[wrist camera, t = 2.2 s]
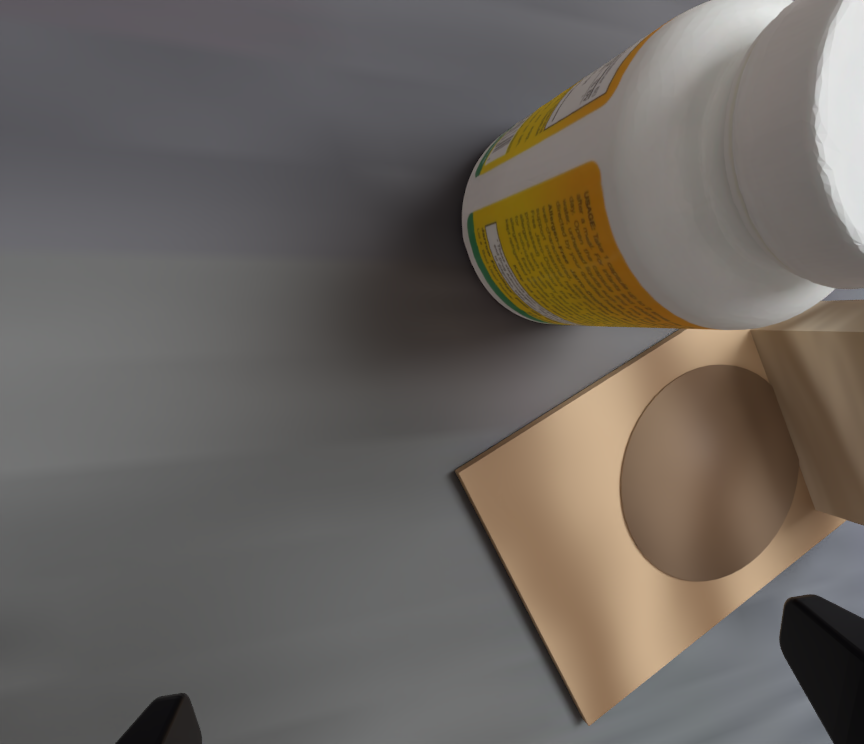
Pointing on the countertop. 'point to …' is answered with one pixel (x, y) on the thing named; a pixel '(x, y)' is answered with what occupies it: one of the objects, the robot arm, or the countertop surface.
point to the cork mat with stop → (676, 491)
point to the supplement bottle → (686, 177)
